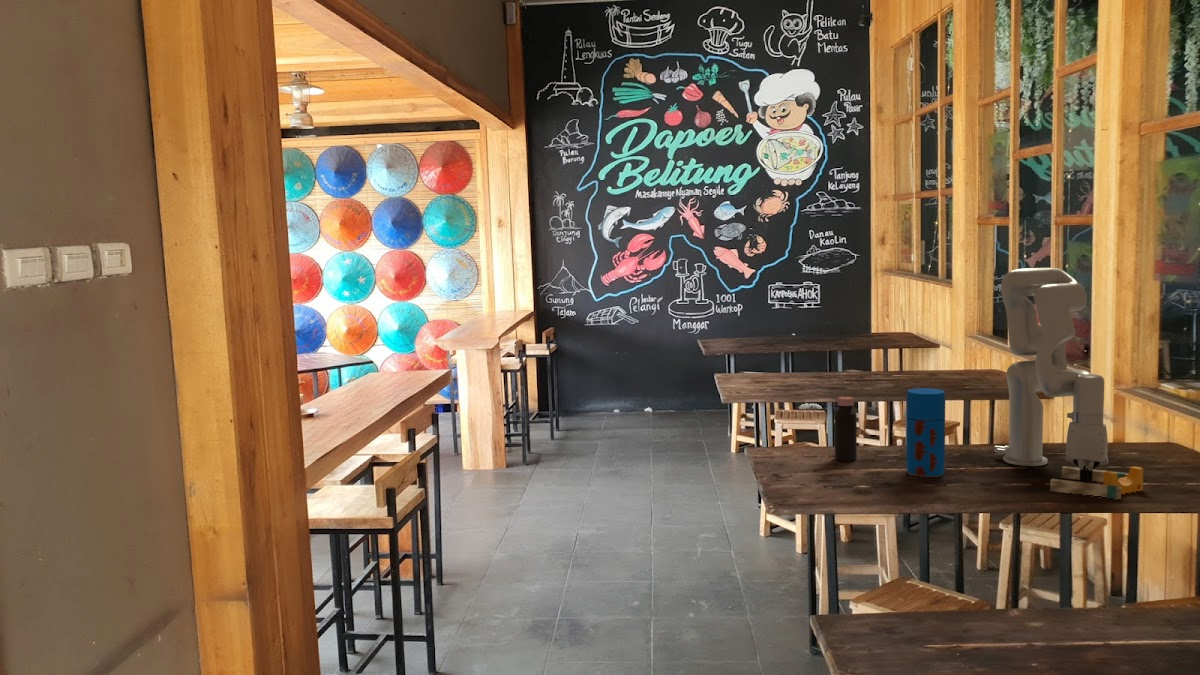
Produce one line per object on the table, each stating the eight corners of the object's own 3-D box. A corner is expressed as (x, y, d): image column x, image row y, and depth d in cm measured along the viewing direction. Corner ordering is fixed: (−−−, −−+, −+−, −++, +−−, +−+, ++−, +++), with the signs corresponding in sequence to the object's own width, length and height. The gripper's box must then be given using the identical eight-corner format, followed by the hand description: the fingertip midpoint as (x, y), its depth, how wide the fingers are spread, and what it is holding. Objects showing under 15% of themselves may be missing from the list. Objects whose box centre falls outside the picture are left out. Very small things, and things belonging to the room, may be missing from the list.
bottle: (839, 455, 308) (839, 395, 306) (859, 458, 304) (859, 397, 302) (831, 460, 303) (831, 398, 300) (852, 462, 299) (851, 400, 296)
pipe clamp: (1128, 487, 262) (1129, 465, 262) (1142, 491, 258) (1143, 468, 258) (1097, 493, 258) (1097, 470, 257) (1111, 497, 254) (1112, 474, 253)
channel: (1050, 491, 261) (1050, 480, 260) (1063, 476, 275) (1063, 465, 275) (1119, 499, 251) (1120, 488, 250) (1129, 483, 265) (1129, 473, 265)
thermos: (917, 466, 291) (917, 387, 288) (950, 472, 283) (951, 390, 281) (900, 474, 283) (900, 392, 281) (934, 479, 276) (934, 395, 273)
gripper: (1055, 418, 263) (1054, 482, 265) (1116, 423, 254) (1114, 490, 256) (1060, 413, 269) (1059, 476, 271) (1120, 418, 260) (1118, 483, 262)
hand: (1085, 482), depth 264 cm, fingers closed
